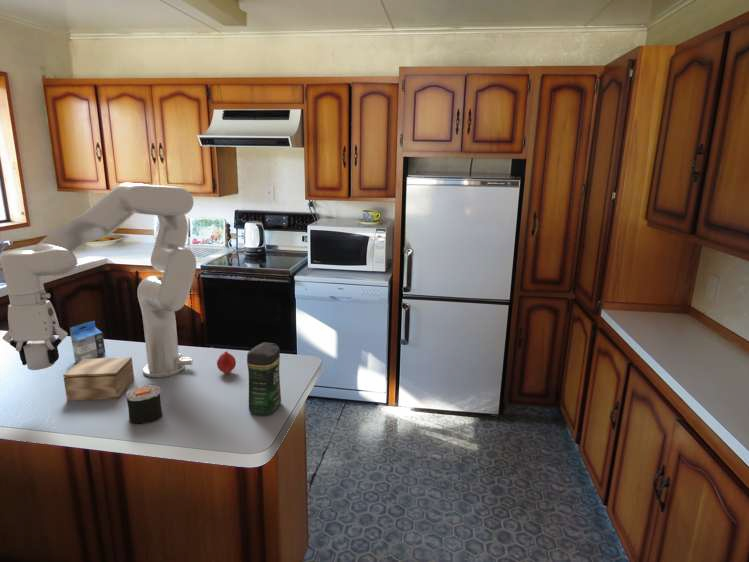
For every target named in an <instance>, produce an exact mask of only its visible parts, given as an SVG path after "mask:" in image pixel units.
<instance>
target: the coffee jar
mask: <svg viewBox="0 0 749 562" xmlns="http://www.w3.org/2000/svg"><path fill="white" fill-rule="evenodd" d="M280 353H281V352H280V347H279V345H277V344H276V343H274V342H273V343H272V342H265V341H264V342H261V343H259V344H257V345H255V346H254V347H252V348H251V349H250V350H249V351H248V352H247V354H246V356H247V357H246V364H247V370H248V411H249V412H250V413H251V414H253V415H256V416H266V415H267V416H268V415H272V414H273V413H274V412H275V411H277V410H278V408H279V406H280V405H281V403H282V394H281V380H280V379H281V378H280V360H281V356H280V355H281V354H280Z"/></svg>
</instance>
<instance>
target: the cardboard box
mask: <svg viewBox="0 0 749 562" xmlns="http://www.w3.org/2000/svg"><path fill="white" fill-rule="evenodd" d="M134 374H135V373H134V366H133V359H132V360H131V361H130V362H129V363H128V364H127V365H126V366H125V367H124V368H123V369H122V370H121V371H120V372H119V373H118V374H117V375H102V376H75V377H63V383H64V390H65V396H66V401H68V402H69V401H87V400H90V401H92V400H111V399H112V400H117V399H120V398H121V397H122V395H124V393H125V392H127V391H126V390H127V389H128V388H129V387H130V386H131V385H132V384H133V382H134V381H135V375H134ZM130 384H131V385H130Z"/></svg>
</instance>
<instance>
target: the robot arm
mask: <svg viewBox="0 0 749 562" xmlns="http://www.w3.org/2000/svg"><path fill="white" fill-rule="evenodd" d="M193 207H194V197H193V195H192V194H191V192H190V191H188V190H187V189H185V188H184V187H178V186H169V185H168V186H167V185H151V184H145V183H136V182H135V183H134V182H122V183H120V184H118V185H116V186H115V187H114V188H113V189H111V190H110V191H109V192H108V193H107V194H105V195H104V196H103V197H102V198H100V199H99V200H98V201H97V202H95V204H93V205H92V206H91V207H89V208H88V209H87V210H85V212H83V213H82V214H80V215H78V216H76V217H74V218H72V219H71V220H69V221H68V222H65V223H64V224H62V225H61V226H59V227H57V228H56V229H54V230H53V231H51V232H50V233H49V234H48V235H46V236H45V237H44V238H42V239H41V240H40V241H39V242H38V243H37V244H36V245H35V246H34V247H33V248H32V250H30V249H29V250H28V249H20V250H19V249H17V250H11V251H7V252H5V253H3V254H2V255H1V258H0V263H1V266H2V271H3V275H4V280H5V284H6V291H7V295H8V299H9V304H8V305H7V320H8V321H7V322H8V323H7V324H8V330H7V332H5V334H4V335H3V336H2V340H4V341H5V342H6V343H8V344H9V345H10V346H11V347H13V348H14V349H15V351H17V352H18V354H19V359H20V361H21V364H22V366H27V362H26V357H25V353H24V348H23V347H24V345H26V344H28V343H29V342H34V341H43V340H44V342H45V343H46V345H47V346H48V348H49V350H48V351H47V353H48V358H49V363H50V364H53V363H54V362H55V363H56V362H57V361H58V360H59V358H60V353H59V349H58V346H59V345H60V344H61V343H62V342H63V341H64V339H66V338H67V336H68V335H69V334H68V332H67V331H66V330H64V329H63V328H61V327H60V324H59V321H58V320H59V319H58V317H57V312H56V311H55V307H54V306H53V304H52V302H51V301H50V300H48V299H51V293H50V292H49V293H48V292H46V289H45V287H44V281H43V277H59V276H64V275H65V276H66V275H69V274H70V273H72V272H73V271H74V270H75V268H77V264H78V259H77V256H76V254H75V253H73V252H74V251H75V250H76V249H79V248H80V247H82V246H83V245H86V244H87V243H90V242H94V241H98V240H101V239H104V238H107V237H109V236H110V235H111V234H113V233H114V232H115V231H116V230H117V229H118V228H119V227H120V226H122V225H123V224H124V223H125V222H126V221H127V220H129V219H130V218H131V217H132V216H133V215H134V214H140V215H147V216H149V215H151V216H157V218H158V231H157V234H156V238H155V243H154V245H153V249H152V252H151V255H150V265H151V267H152V268H153V269H154V270H155V271H157V272H160V273H162V274H163V276H159V275H150V276H147V277H144V278H143V279H142V280H141V281H140V283H139V284H138V286H137V294H136V295H137V299H138V300H137V301H138V303H139V307H140V310H141V311H140V312H141V315H142V323H143V331H144V332H143V333H144V334H143V335H144V341H145V342H144V343H145V351H146V360H147V361H146V362H147V364H146V365H145V366H144V367H143V368H142V373H143V374H144V375H145V376H146V377H149V378H165V377H170V376H171V377H172V376H174V375H176V374H179V373H180V372H181V371H182V372H183V370H184V369H185V366H192V365H193V359H192V358H191V356H190V357H189V356H186V357H184V356H182V352H179V344H178V342H179V341H178V333H177V321H176V319H177V318H176V313H175V312H177V311H179V310H181V309H183V307H184V306H185V305H186V303H187V302H188V298H189V295H190V291H191V288H192V285H193V282H194V281H193V280H194V277H195V274H196V270H197V258H196V256H195V254H194V252H193V251H192V250H190V249H189V248H188V247H185V245H186V241H187V237H188V232H189V231H188V230H189V226H188V219H187V217H186V215H187V214H189V213H190V212H191V211H192V209H193ZM55 335H58V337H57V338H56V336H55ZM55 363H54V364H55Z"/></svg>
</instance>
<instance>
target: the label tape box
mask: <svg viewBox="0 0 749 562" xmlns="http://www.w3.org/2000/svg"><path fill="white" fill-rule="evenodd" d="M83 327H84V328H83ZM69 330H70V331H69V332H70V339H71V345H72V351H73V357H74V362H75V361H76V363H79V362H80V361H81V360H83V359H96V358H100V357H102V356H105V355H106V354H107V353H106V348H105V347H106V346H105V340H104V333H103V332H102V331H101V330H100V329H98V328H97V327H96V320H92V321H89V322H88V321H87V322H84V323H81V324H78V325H75V326H72V327H69Z"/></svg>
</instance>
